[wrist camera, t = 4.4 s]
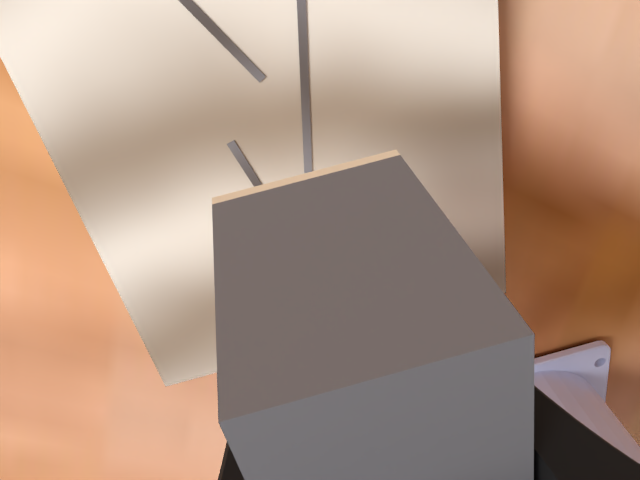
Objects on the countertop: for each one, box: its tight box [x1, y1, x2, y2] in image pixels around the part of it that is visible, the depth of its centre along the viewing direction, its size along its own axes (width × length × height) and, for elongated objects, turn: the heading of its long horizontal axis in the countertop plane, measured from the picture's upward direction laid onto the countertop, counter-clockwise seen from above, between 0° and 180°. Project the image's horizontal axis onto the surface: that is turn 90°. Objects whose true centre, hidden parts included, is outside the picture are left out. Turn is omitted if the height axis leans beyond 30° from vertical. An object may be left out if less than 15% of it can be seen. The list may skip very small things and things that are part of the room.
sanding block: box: [212, 150, 535, 480], centre depth 12 cm, size 9×4×6 cm, turn 12°
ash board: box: [0, 0, 506, 386], centre depth 17 cm, size 16×13×1 cm
